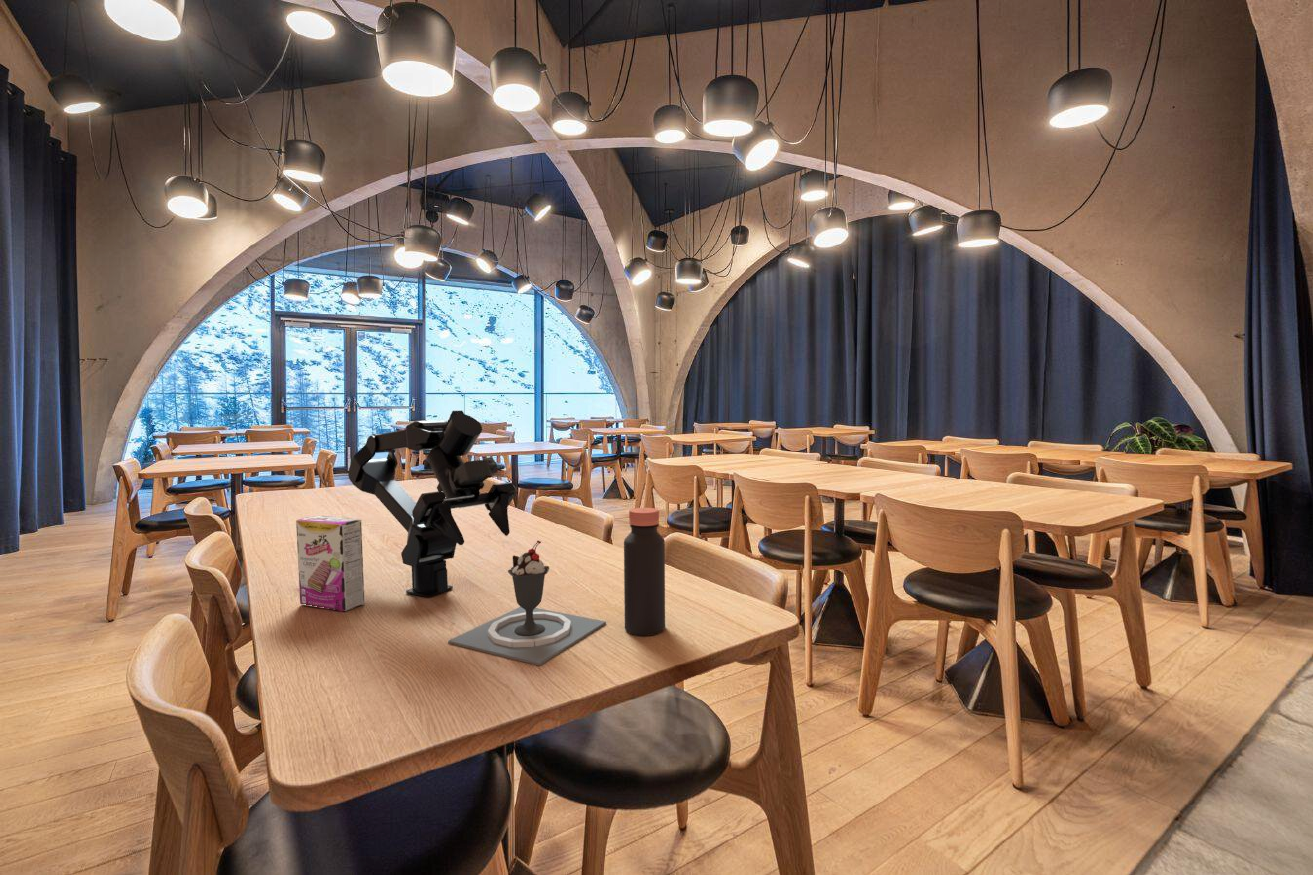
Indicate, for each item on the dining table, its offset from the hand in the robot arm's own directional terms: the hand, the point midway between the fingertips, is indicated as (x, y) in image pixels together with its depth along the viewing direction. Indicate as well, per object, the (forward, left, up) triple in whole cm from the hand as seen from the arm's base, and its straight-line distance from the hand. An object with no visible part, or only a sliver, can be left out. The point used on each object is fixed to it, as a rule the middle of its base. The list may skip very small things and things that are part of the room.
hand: (485, 538), depth 107 cm
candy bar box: (-29, -10, -14) cm, 34 cm away
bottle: (+29, +6, -14) cm, 32 cm away
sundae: (+12, -3, -13) cm, 19 cm away
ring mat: (+13, -4, -14) cm, 19 cm away
